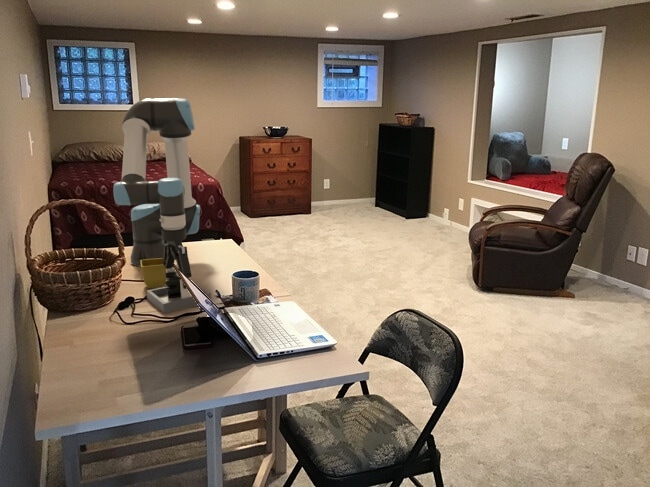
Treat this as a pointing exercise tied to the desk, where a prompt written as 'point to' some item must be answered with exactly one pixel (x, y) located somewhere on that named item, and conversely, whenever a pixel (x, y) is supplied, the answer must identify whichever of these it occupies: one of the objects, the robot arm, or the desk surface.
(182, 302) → the holder tray
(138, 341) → the desk surface
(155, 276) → the flower pot
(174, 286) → the end cap
